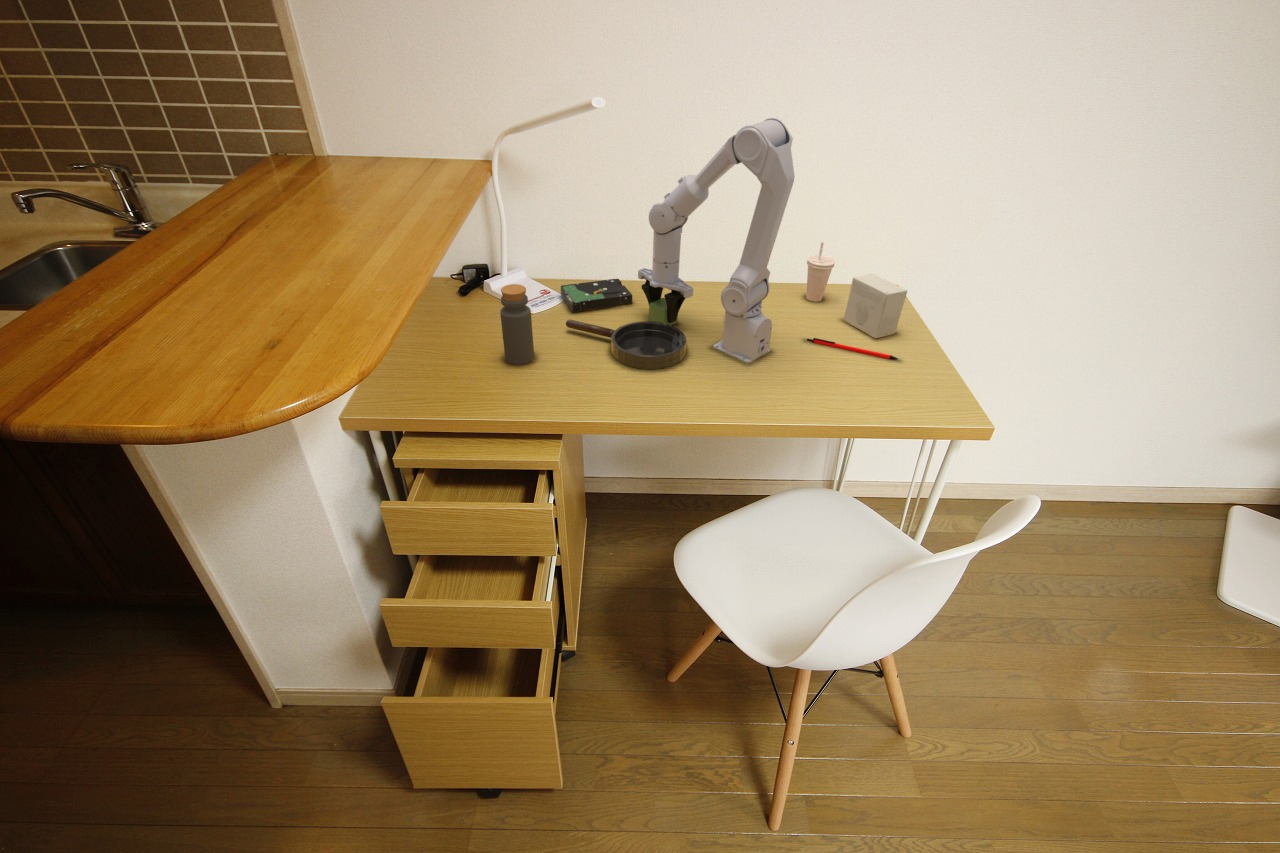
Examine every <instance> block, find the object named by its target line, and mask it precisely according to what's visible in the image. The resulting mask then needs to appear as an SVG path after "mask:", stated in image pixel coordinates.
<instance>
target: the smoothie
mask: <svg viewBox="0 0 1280 853" xmlns="http://www.w3.org/2000/svg"><path fill="white" fill-rule="evenodd" d="M824 244H825V242H823V241H822V242H820V247H819V253H818V255H812V256H811V255H810V256H809V257H808V258H807V261H806V265H807V274H806V275H807V276H806V295H805V296H806V298H805V299H806V300H808V301H809V302H814V303H815V302H817V303H818V302H821V301H822V300H823V297H824V294H825V291H826V288H827V284H828V282H829V279H830V276H831V274H832V270H833V268H835V263H836V262H835V259H833V258H831V257H829V256H825V255H822V254H823V248H824Z"/></svg>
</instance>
